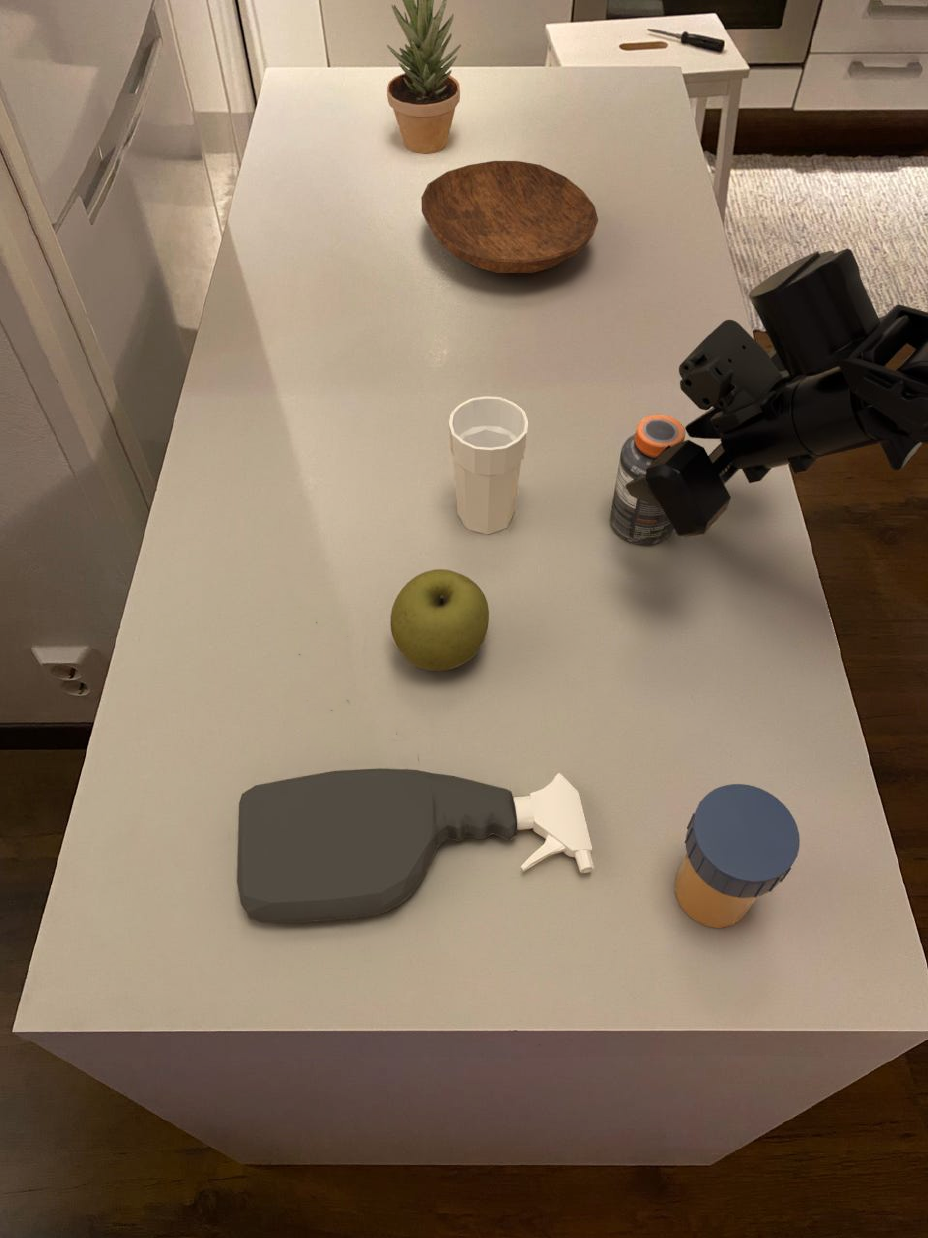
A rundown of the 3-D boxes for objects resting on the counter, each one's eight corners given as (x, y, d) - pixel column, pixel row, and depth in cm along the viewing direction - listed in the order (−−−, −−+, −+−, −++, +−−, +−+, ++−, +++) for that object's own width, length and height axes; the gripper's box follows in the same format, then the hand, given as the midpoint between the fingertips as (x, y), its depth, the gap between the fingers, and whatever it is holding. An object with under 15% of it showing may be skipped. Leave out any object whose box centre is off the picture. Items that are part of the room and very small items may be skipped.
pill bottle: (680, 508, 88) (704, 413, 79) (667, 554, 85) (691, 461, 76) (617, 493, 89) (634, 398, 80) (602, 537, 86) (618, 444, 77)
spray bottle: (244, 792, 71) (568, 759, 73) (241, 937, 64) (597, 897, 66) (237, 773, 68) (572, 740, 70) (233, 922, 62) (602, 881, 64)
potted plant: (381, 155, 127) (366, -61, 107) (400, 122, 132) (389, -90, 113) (454, 164, 125) (452, -54, 106) (470, 130, 131) (471, -83, 111)
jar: (726, 846, 68) (760, 784, 60) (764, 913, 65) (804, 857, 57) (661, 869, 67) (687, 810, 59) (697, 939, 64) (729, 886, 56)
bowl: (470, 317, 105) (470, 278, 101) (397, 219, 117) (394, 180, 113) (624, 275, 110) (630, 236, 106) (538, 185, 122) (541, 146, 118)
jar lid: (754, 790, 63) (765, 770, 61) (807, 878, 59) (821, 861, 57) (666, 821, 61) (674, 802, 59) (716, 914, 58) (726, 897, 56)
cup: (488, 551, 85) (491, 461, 76) (435, 514, 87) (432, 423, 79) (536, 512, 88) (544, 421, 79) (483, 477, 90) (485, 385, 82)
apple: (507, 650, 78) (510, 597, 73) (433, 705, 75) (431, 654, 69) (447, 596, 82) (445, 541, 76) (374, 647, 79) (367, 593, 73)
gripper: (829, 256, 69) (673, 324, 82) (694, 384, 61) (544, 437, 74) (891, 387, 72) (731, 432, 86) (771, 526, 64) (614, 553, 77)
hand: (659, 459), depth 80 cm, fingers open, 9 cm apart
